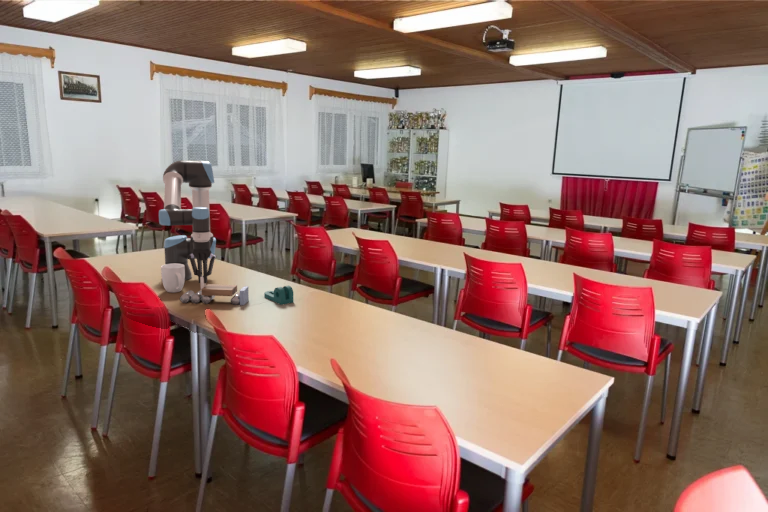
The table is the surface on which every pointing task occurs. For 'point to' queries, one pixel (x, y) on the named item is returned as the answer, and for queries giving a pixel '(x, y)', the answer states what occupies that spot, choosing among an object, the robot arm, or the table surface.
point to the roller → (236, 299)
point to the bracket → (280, 295)
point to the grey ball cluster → (196, 297)
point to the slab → (219, 290)
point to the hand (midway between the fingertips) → (203, 289)
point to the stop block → (244, 295)
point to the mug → (173, 277)
